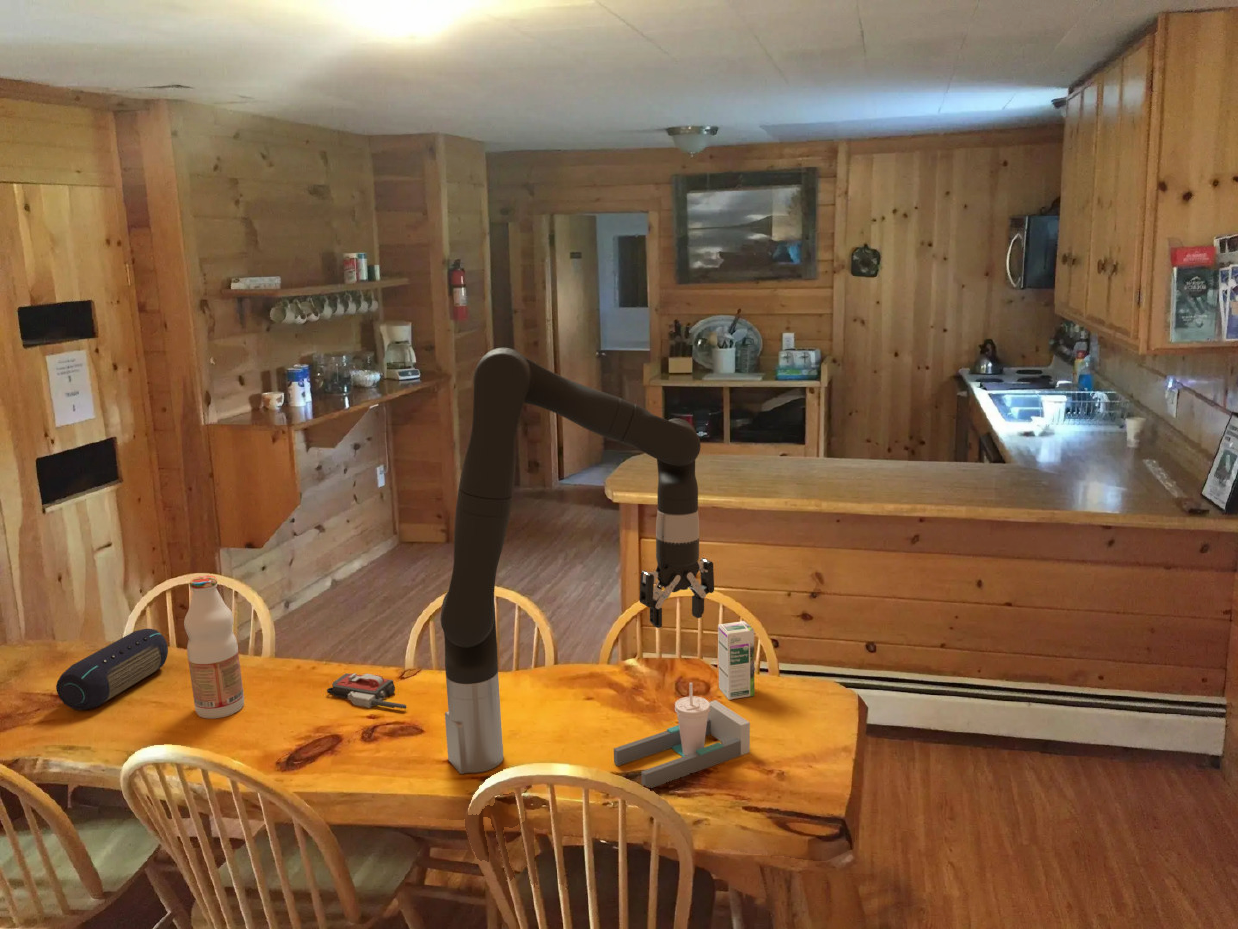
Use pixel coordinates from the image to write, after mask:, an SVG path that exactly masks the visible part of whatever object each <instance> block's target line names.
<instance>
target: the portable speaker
mask: <svg viewBox="0 0 1238 929" xmlns="http://www.w3.org/2000/svg"><path fill="white" fill-rule="evenodd" d="M168 654H169V646H168V643H167V640H166V638H165V636H164V635H163V634H162V633H160V631H158V630H157V629H154V628H142V629H137V630H134V631H132V632H130V633H129V634H127V635H125V636H123V637H121V638H120V639H118V640H116V641H114V642H112V643H110V644H108V645H107V646H105V647H102V648H101V649H99V650H97V651H95V652H93V653H92V654H89V655H88V656H87V657H84V658H83V659H81V660H79V661H77V662H75V663H73V664H72V665H70V666H69V667H68V668H67V669H66V670H65V671H64V672H62V673H61V675H60V677H59V678H58V680H57V682H56V684H55V687H56V688H55V690H56V693H57V696H58V698H59V699H60V701H62V703H63V704H64V705H66V706H67V707H69V708H70V709H73V710H75V711H85V710H91V709H94V708H97V707H100V706H101V705H103V704H104V703H106V702H107V701H109V700H110V699H112V698H114V697H115V696H117V695H119V694H120V693H122V692H123V691H125V690H127V689H128V688H130V687H132V686H133V685H135V684H137V683H138V682H140V681H141V680H143V679H145V678H147V677H148V676H150V675H151V674H154V673H155V672H157V671H158V670H160V669H162V667H163V666H164V665H165V663H166V660H167V657H168Z"/></svg>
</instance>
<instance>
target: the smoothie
mask: <svg viewBox="0 0 1238 929" xmlns="http://www.w3.org/2000/svg"><path fill="white" fill-rule="evenodd" d="M693 683H694V682H689V689H688V690H689V696H685V697H681V698H679V699H678V700H676V701H675V702H674V706H675V707H674V711H675V713H676V715H677V716H676V717H677V721H678V722H677V724H678V725H679V730H680V737H681V743H682V750H683V754H684V755H685V756H687V755H689V754H692V753H695V752H696V750H698V749H701V748H704V747H705V741H706V736H705V735H706V727H707V719H708V713H709V712H710V703H709V702H710V701H708V700H707V699H706V698H705V697H700V696H695V695H693V694H694V693H693V690H694V689H693V688H694V687H693Z"/></svg>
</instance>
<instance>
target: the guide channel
mask: <svg viewBox="0 0 1238 929" xmlns="http://www.w3.org/2000/svg"><path fill="white" fill-rule="evenodd" d="M708 702H709V703H710V712H709V713H708V719H707V727H706V735H705V737H707V736H710V735H711V736H712V737H714V738H715V739H716V740H718V742H715V743H713V744H710V745H708V746H704V748H701V749H698V750H696V752H695V753H692V754H689V755H687V756H685V755H684V754H683V750H682V743H681V737H680V730H679V724H678V725H675V726H672V727H668V728H667V729H666V730H665V731H662V732H659V733H656V734H653V735H650V736H646V737H644V738H641V739H637V740H634V741H632V742H628V743H627V744H623V745H620V746H617V747H613V763H615V764H616V765H617V766H618V767H620V766H619V765H621V766H622V764H623V765H626V764H628V763H627V762H629V763H631V762H630V761H632V762H634V761H633V760H635V761H637V759H638V760H640V758H641V759H644V758H646V756H647V757H650V756H652V755H655V754H658V753H661V752H664V751H667V750H669V749H672V750H673V751H674V752H676V753H677V754H678V755H679V754H680V755H679V756H681V757H678V758H676V759H672V760H670V761H668V762H664V763H661V764H658V765H656V766H653V767H650V768H647V769H645V770H641V771H640V775H641V778H640V779H641V780H640V782H641V784H642V785H645V786H646V787H649V788H650V787H651V789H653V788H656V787H659V786H661V785H664V784H666V782H667V783H669V781H670V782H672V780H673V781H675V780H678V779H681V778H683V777H686V776H688V775H691V774H690V773H692V774H694V773H697V772H699V771H702V770H705V769H707V768H708V769H709V768H711V767H713V766H716V765H718V764H722V763H725V762H727V761H730V760H732V759H735V758H739V757H740V756H744V755H746V754H749V753H751V752H750V751H751V750H750V748H751V746H750V745H751V744H750V743H751V742H750V739H751V736H750V735H751V734H750V730H751V728H750V727H751V726H750V725H751V724H750V723H751V722H750V721H748V720H747V719H745V718H744V717H742V716H741V715H739V714H738V713H736V712H735V711H733V710H731V709H730V708H729V707H727V706H725V705H723V704H722V703H720V702H719V700H716V699H715V700H711V701H708ZM719 741H720V742H721V743H720V742H719ZM649 755H650V756H649ZM643 757H644V758H643ZM625 763H626V764H625ZM615 764H614V765H615ZM616 765H615V766H616ZM617 766H616V767H617ZM680 777H681V778H680ZM674 779H675V780H674ZM642 785H641V786H642Z"/></svg>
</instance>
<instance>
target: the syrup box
mask: <svg viewBox="0 0 1238 929" xmlns="http://www.w3.org/2000/svg"><path fill="white" fill-rule="evenodd" d="M717 638H718V639H717V640H718V641H717V642H718V643H717V645H718V646H717V648H718V650H717V651H718V688H719V690H720V691H721V693H722V694H723V695H724V696H725V698H727V700H729V701H732V700H734V699H742V698H749V697H755V630H754V629H753V628H752V626H751V625H750V624H749V623H748V622H746V621H745V620H740V621H735V622H728V623H719V624H717Z"/></svg>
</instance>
